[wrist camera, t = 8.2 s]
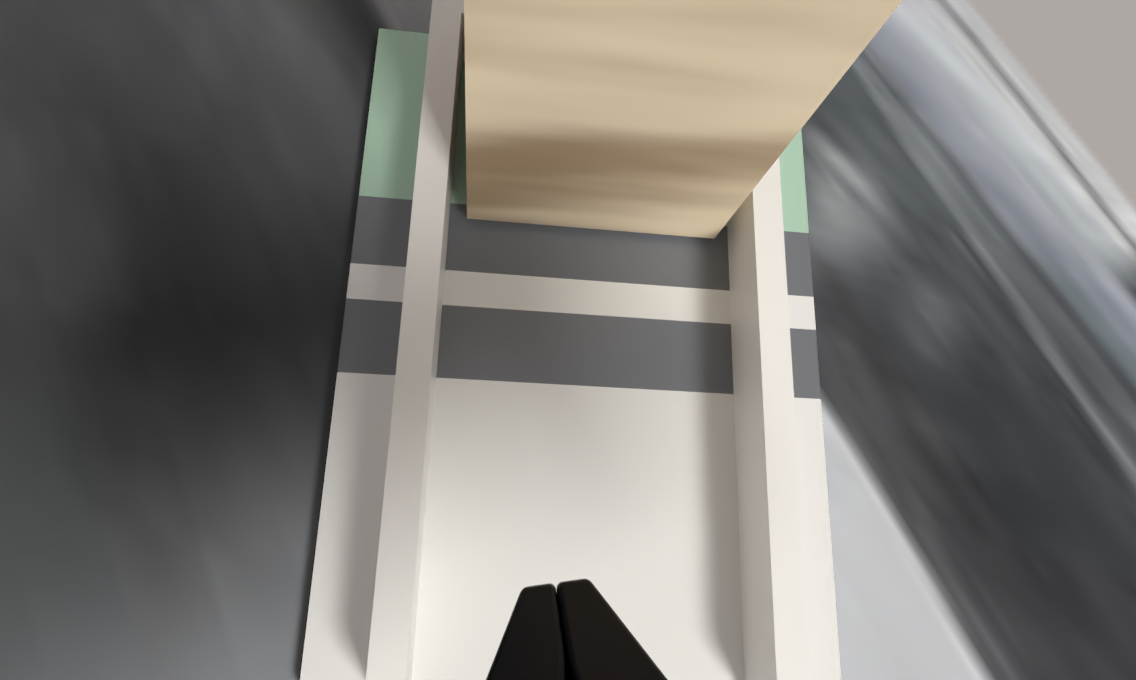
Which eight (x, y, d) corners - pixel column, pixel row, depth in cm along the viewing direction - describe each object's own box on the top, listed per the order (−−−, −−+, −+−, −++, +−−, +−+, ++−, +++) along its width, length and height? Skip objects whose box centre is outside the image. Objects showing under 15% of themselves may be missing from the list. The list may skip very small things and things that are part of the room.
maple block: (714, 238, 20) (927, -31, 11) (467, 218, 20) (462, -91, 10) (709, 87, 22) (894, -268, 12) (478, 63, 21) (484, -338, 12)
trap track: (832, 693, 18) (886, 715, 16) (303, 689, 17) (274, 714, 14) (790, 84, 23) (827, 31, 21) (381, 39, 22) (369, -24, 19)
